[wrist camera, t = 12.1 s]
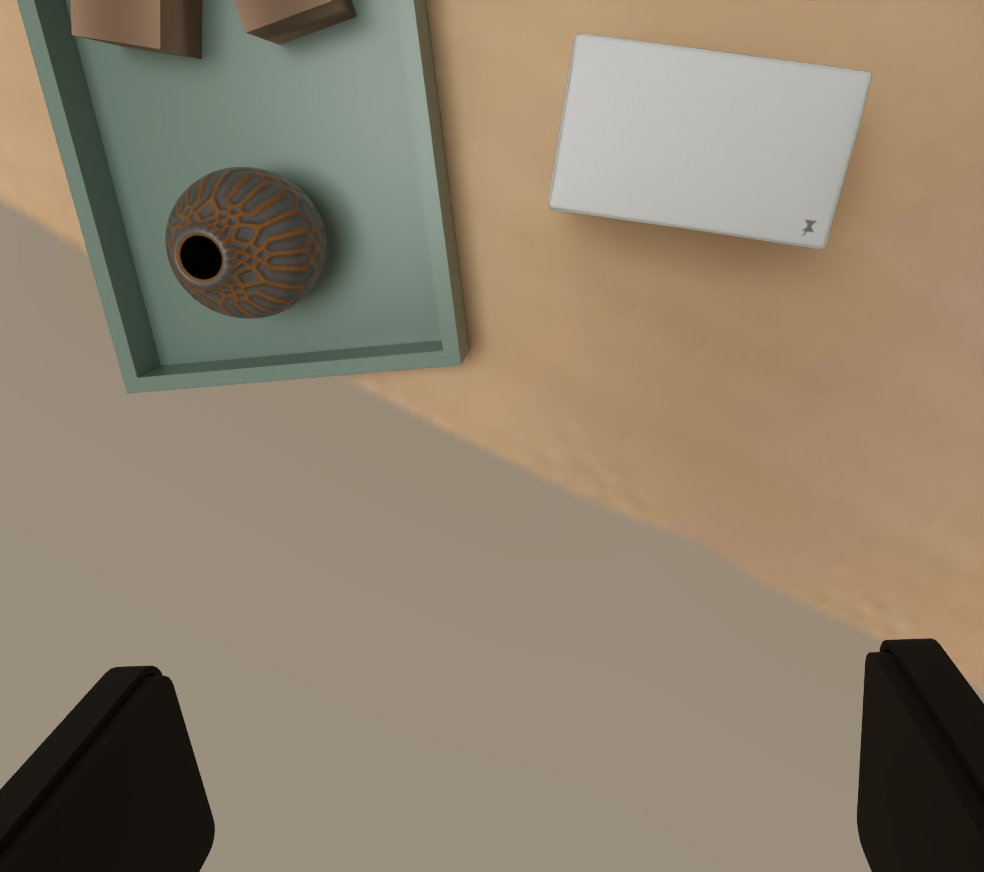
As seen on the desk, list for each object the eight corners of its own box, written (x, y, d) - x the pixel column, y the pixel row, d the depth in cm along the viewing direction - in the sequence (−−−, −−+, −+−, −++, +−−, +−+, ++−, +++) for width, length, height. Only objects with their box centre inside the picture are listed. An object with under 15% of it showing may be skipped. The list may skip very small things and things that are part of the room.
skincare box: (798, 90, 36) (880, 67, 26) (762, 231, 38) (826, 259, 29) (575, 59, 37) (575, 25, 27) (553, 200, 39) (545, 217, 29)
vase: (367, 261, 40) (314, 289, 32) (263, 326, 42) (186, 368, 34) (291, 138, 38) (213, 134, 30) (185, 211, 40) (85, 226, 32)
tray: (408, -132, 35) (392, -159, 32) (469, 349, 42) (460, 365, 39) (41, -68, 37) (-8, -88, 34) (158, 376, 44) (127, 393, 41)
